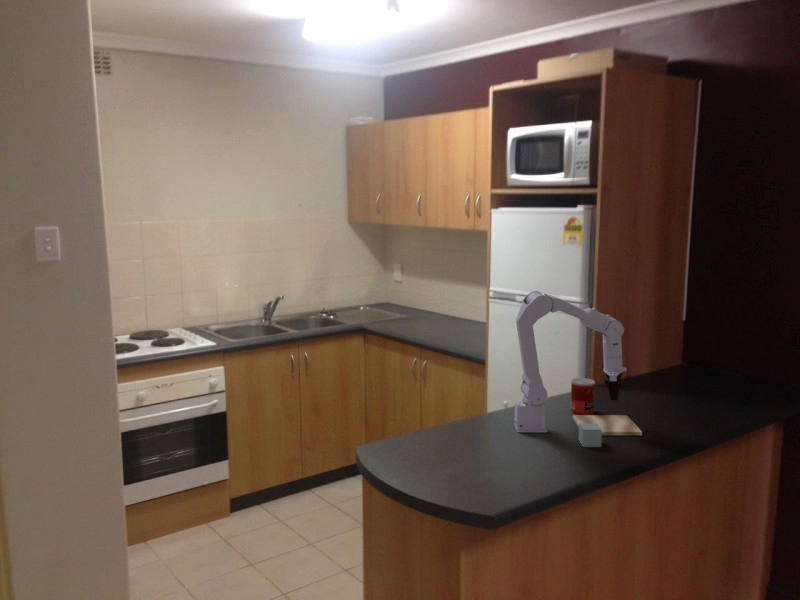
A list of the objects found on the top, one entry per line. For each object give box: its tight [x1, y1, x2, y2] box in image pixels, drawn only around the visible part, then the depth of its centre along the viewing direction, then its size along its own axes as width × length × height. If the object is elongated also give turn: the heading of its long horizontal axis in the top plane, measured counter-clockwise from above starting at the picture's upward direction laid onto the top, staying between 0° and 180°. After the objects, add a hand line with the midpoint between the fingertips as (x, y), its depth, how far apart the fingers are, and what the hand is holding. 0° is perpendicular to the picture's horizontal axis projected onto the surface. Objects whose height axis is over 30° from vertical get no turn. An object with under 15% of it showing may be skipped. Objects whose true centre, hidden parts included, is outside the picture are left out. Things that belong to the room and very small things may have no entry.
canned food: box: [570, 377, 596, 415], centre depth 244 cm, size 8×8×11 cm
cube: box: [578, 424, 603, 448], centre depth 215 cm, size 6×6×6 cm
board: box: [572, 414, 643, 437], centre depth 230 cm, size 18×16×1 cm
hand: (614, 396), depth 229 cm, fingers open, 7 cm apart
